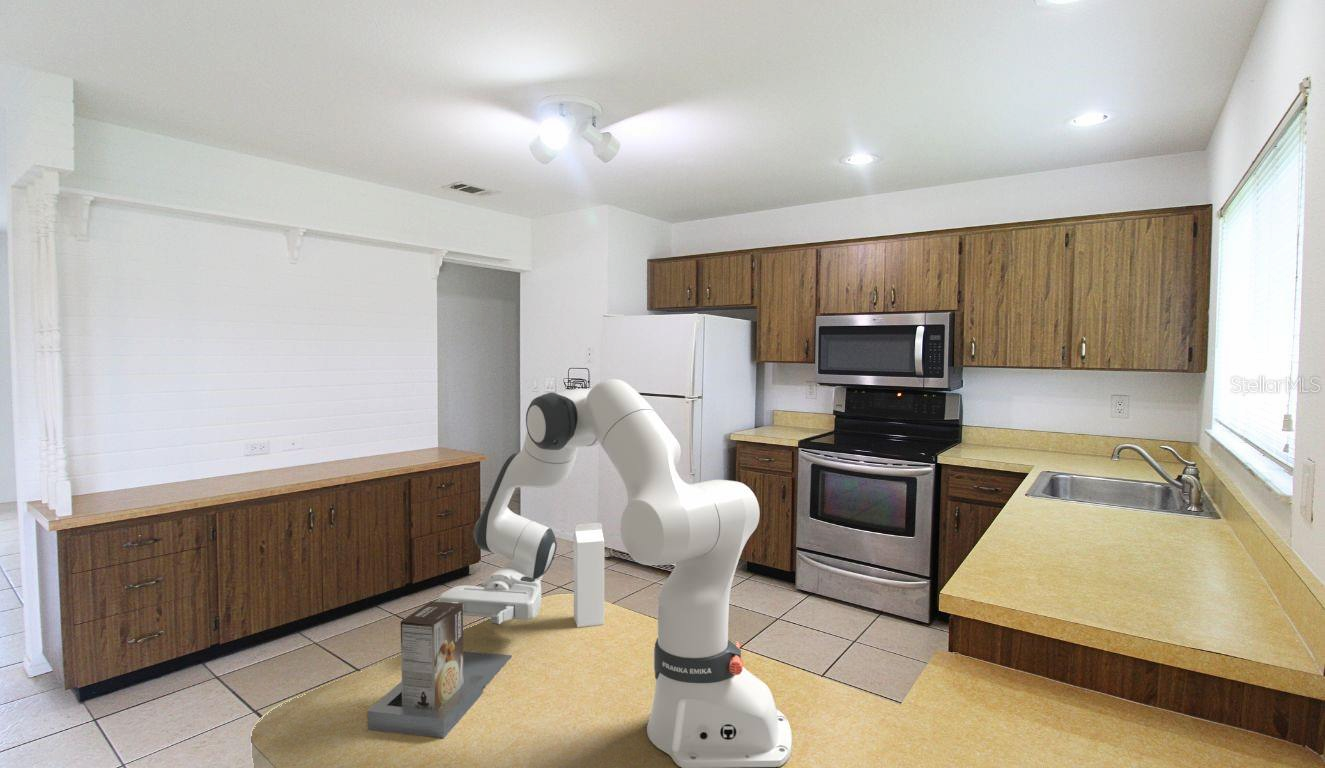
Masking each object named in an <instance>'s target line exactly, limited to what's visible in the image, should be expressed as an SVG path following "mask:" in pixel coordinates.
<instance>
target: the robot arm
mask: <svg viewBox="0 0 1325 768" xmlns="http://www.w3.org/2000/svg"><path fill="white" fill-rule="evenodd" d="M525 413H526V414H525V427H526V430H527V431H526V435H525V438H524V443H523V446H522V449H521V450H520V452H513V453H512V454H511V455H510V456H509V457H508V458H507V459H506V461H505V462H504V464H503V465H502V467H500V471H499V473H498V474H497V476H496V480H495V482H494V483H493V486H492V489H491V491H490V493H489V495H488V498H487V501H486V503H485V507H484V509H483V510H482V513H481V514H480V516H479V518H478V520H477V522H476V523H475V526H474V528H473V533H472V534H473V538H474V542H475V543H476V545H477V548H478V549H479V550H482V551H485V552H487V553H488V552H489V553H492V554H496V555H498V556H500V557H503V558H505V559H507V560H509V561H507V562H506V563H504V564H503V566H501V567H499V569H497V570H496V571H494V572H493V573H492V574H491V575H489V576H487V577H486V578H485V579H484V580H483V581H482V583H481V585H468V584H467V585H462V584H461V585H456V586H453V587H452V588H450V589H448V590H446V591H444V592H442V593H441V594H439V595H438V599H437V600H438V601H437V602H448V603H462V604H463V616H466V617H467V616H469V617H482V618H491V619H492V620H491V623H492V624H493V625H494V624H495V625H500V624H502V623H503V622H505V621H509V620H522V621H529V620H533V619H535V618H536V617H537V615H538V614H539V612H540V610H541V608H542V607H541V606H542V585H541V584H542V583H541V582H542V579H543V577H544V575H545V574H546V573H547V572H548V570H549V569H550V567H551V565H552V563H553V560H554V558H555V555H556V551H557V547H558V545H557V544H558V543H557V540H556V536H555V532H554V531H553V529H552V528H551V527H548V526H546V525H544V524H541V523H539V522H537V521H535V520H531V519H529V518H526V517H524V516H522V515H519V514H517V513H515V512H513V511H512V510H510V508H509V507H508V506H509V503H510V501H511V499H512V496H513V493H514V492H515V491H516V490H515V489H516V488H533V489H547V488H550V487H551V488H552V487H555V486H557V485H559V484H562V482H564V481H565V480H566V479H567V478H569V476H570V475H571V473H572V471H573V468H574V466H575V463H576V460H577V456H578V451H579V448H581V447H592V446H593V447H594V446H598V445H600V446H601V447H602V449H603V450H604V452H605V453H606V455H607V457H608V458H609V460H610V461H611V463H612V465H613V466H614V467H615V469H616V471H617V472H618V475H619V476H620V478H621V479H622V481H623V483H624V487H625V490H626V495H627V505H626V506H625V508H624V510H623V511H622V514H621V518H620V527H619V529H620V531H619V532H620V539H621V541H622V544H623V547H624V549H625V550H626V552H627V553H628V555H629V556H630V557H631V558H632V559H633V560H634V561H635V562H636V563H638V564H641V565H643V566H663V565H666V566H667V565H668V566H669V565H674V564H675V566H674V568H673V570H672V571H671V573H670V574H669V576H668V577H667V578H666V579H665V581H664V582H663V584H662V585H661V587H660V589H659V592H658V594H657V595H658V596H657V637H656V640H655V643H654V649H653V671H654V678H655V687H654V688H655V689H654V694H653V695H654V696H653V702H652V707H651V712H650V714H649V715H650V716H649V719H648V722H647V724H646V725H647V726H646V735H647V737H648V739H649V741H650V742H651V743H652V744H653V745H654V746H655V747H656V748H657V749H659V750H661V751H663V752H665V754H667V755H669V756H670V757H671V759H672V760H673V762H674V763H675V764H676V765H677V766H678V767H681V768H776V767H778V768H779V767H781V766H782V765H784V764H785V763H786V762H787V761H788V759H789V758H790V755H791V753H792V749H793V748H792V747H793V737H792V729H791V726H790V722H789V720H788V719H787V717H786V715H784V713H782V712H781V711H780V710H779V709H777V707H776V702H775V699H774V696H773V693H772V690H771V689H770V688H769V686H768V685H767V684H766V683H765V682H764V681H763V680H761V679H759V678H758V677H756V676H755V675H754V674H753V673H751V671H749V670H747V668H745V667H744V666H743V665H744V662H743V660H742V649H740V647H741V646H740V643H739V641H738V640H737V641H736V644H735V643H733V641H731V640H730V639H729V615H730V614H729V612H730V611H729V610H730V596H731V589H732V584H733V580H734V577H735V573H736V570H737V568H738V564H739V561H740V557H741V555H742V553H743V550H744V548H745V546H746V544H747V541H748V540H749V538H750V537H751V536H752V534H753V533H754V532H755V530H756V529H757V528H758V525H759V522H760V514H761V511H760V505H759V502H758V499H757V497H756V495H755V493H754V492H753V491H752V490H751V488H750V487H749V486H747V485H746V484H745V483H743V482H740V481H736V480H727V479H711V480H706V481H701V482H695V483H687V482H686V481H684V480H683V479H682V478H681V477H680V475H679V473H678V471H677V468H678V466H679V463H680V460H681V457H682V448H681V447H682V446H681V445H680V443H679V441H678V440H677V438H676V436H674V434H673V433H672V432H671V430H670V428H668V426H667V425H666V423H664V421H663V419H661V417H660V416H659V415H658V413H657V412H656V411H655V409H654V408H653V407H652V405H650V403H649V402H648V401H647V400H646V399H645V398H644V397H643V396H642V395H641V394H640V393H639V392H638V391H637V390H636V389H635V388H634V387H632V386H631V385H630V384H629V383H628V382H626V381H624V380H622V379H620V378H619V379H618V378H608V379H605V380H602V381H601V382H599V383H596V385H595V386H593V387H591V388H590V387H588V388H581V387H580V388H574V389H566V390H563V391H558V392H548V393H544V394H542V395H539V396H537V397H535V398H533V399H532V400H531V402H530V403H529V405H528V408H527V411H526V412H525Z"/></svg>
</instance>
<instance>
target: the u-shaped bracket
mask: <svg viewBox="0 0 1325 768" xmlns="http://www.w3.org/2000/svg"><path fill="white" fill-rule="evenodd" d="M482 693H483V694H484V688H483V676H477V675H472V676H471V677H470V678H469V679H468V680H467V681H466V682H465V683H464V684H463V686H462V687H461V688H460V689H459V690H458V691H457V692H456V693H455V694H454V695H453V696H452V697H451V698H450V699H449V700H448V701H447V702H446V703H445V704H444V706H443V707H442V708H441V709H440V710H439V711H435V710H426V709H416V708H406V707H402V680H401V681H400V682H399V683H397V685H395V686H394V687H393V688H392V689H391V690H390V691H389V692H387V693H386V694H385V695H384V696H383V697H381V698H380V699H379V700H378V701H377V702H376V703H375V704H374V705H372V706H371V707H370V708H369V709H368V710H367V711H366V723H367V725H366V726H367V730H368V731H375V732H376V731H377V732H382V733H383V732H386V733H394V734H402V735H411V736H420V737H431V738H439V739H445V738H446V736H447V735H448V734H449V733H450V732H451V731H452V730H453V728H454V727H455V726H456V725H457V724H458V723H459V722H460V720H461V719H462V718H463V716H465V715H466V713H467V712H468V711H469V710H470V709H471V708H472V706H474V704H475V703H476V702H477V701H478V700H479V698H480V697H481V696H482V695H483V694H482Z"/></svg>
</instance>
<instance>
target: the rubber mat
mask: <svg viewBox="0 0 1325 768" xmlns="http://www.w3.org/2000/svg"><path fill="white" fill-rule="evenodd" d="M512 657H513V655H512V654H503V653H502V654H501V653H490V652H481V651H480V652H479V651H477V652H476V651H469V650H467V651H466V650H463V659H464V665H463V666H464V683H465V682H466V681H467V680H468V679H469V678H470V677H471V676H472V675H477V676H483V689H485V688H487V686H488V685H489V684H490V682H492V680H493V679H494V678H495V677H496V676H497V674H499V672H500V671H501V670H502V669H503V668H504V667H505V665H506V664H507V663H508V662H509V661H510V660H511V658H512ZM509 659H510V660H509ZM508 660H509V661H508ZM507 661H508V662H507ZM506 662H507V663H506ZM502 667H503V668H502ZM501 668H502V669H501ZM500 669H501V670H500ZM495 675H496V676H495ZM494 676H495V677H494ZM488 683H489V684H488ZM487 684H488V685H487ZM486 685H487V686H486Z"/></svg>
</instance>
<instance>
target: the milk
mask: <svg viewBox="0 0 1325 768" xmlns="http://www.w3.org/2000/svg"><path fill="white" fill-rule="evenodd" d="M574 530H575V532H574V533H573V619H574V621H575V624H576V627H577V628H584V627H594V626H602V625H605V539H604V533H603V524H602V523H601V522H596V523H595V522H594V523H584V524H582V523H580V524H576V525H575V529H574Z"/></svg>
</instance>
